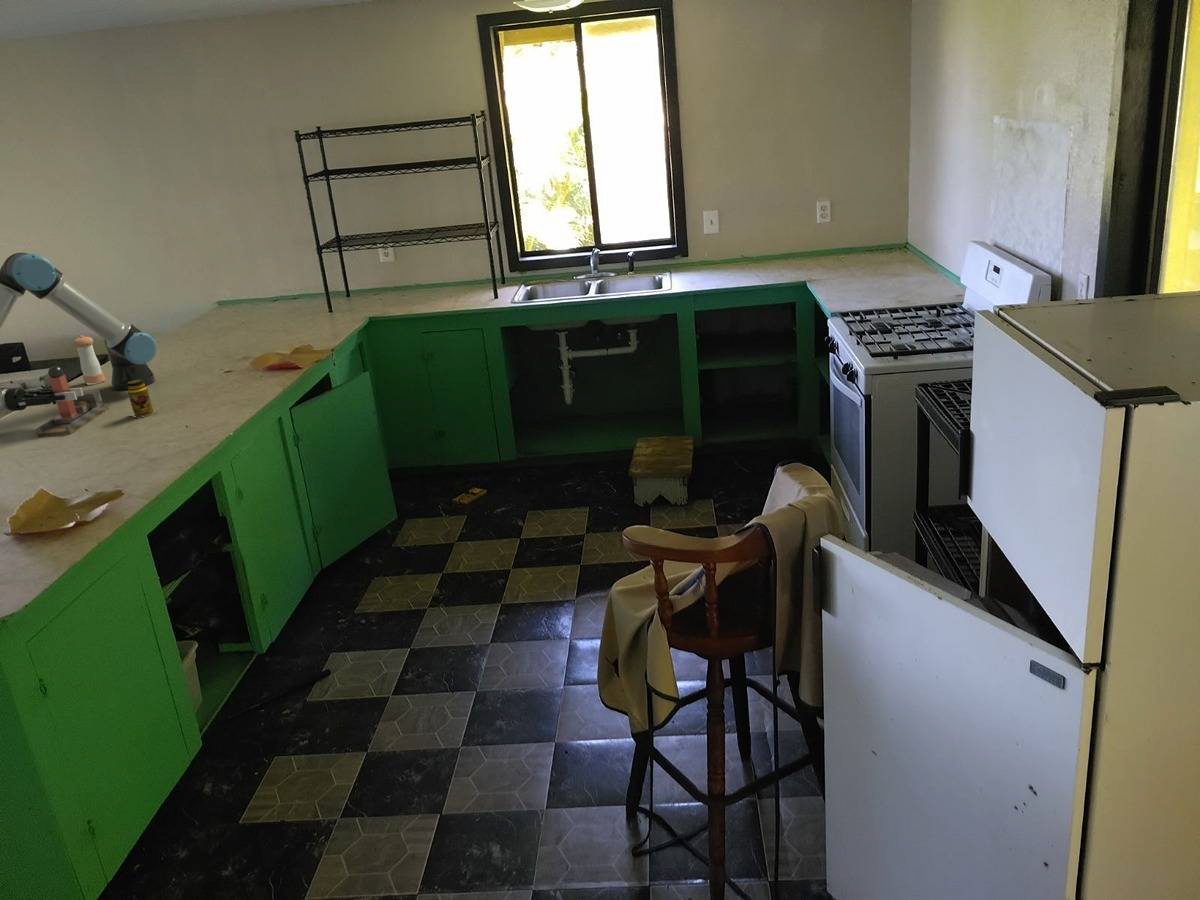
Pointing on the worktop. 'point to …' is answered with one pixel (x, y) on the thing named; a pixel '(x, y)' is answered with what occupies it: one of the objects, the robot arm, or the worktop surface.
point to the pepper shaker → (88, 360)
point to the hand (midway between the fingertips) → (78, 393)
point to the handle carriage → (65, 407)
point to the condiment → (139, 398)
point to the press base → (94, 409)
